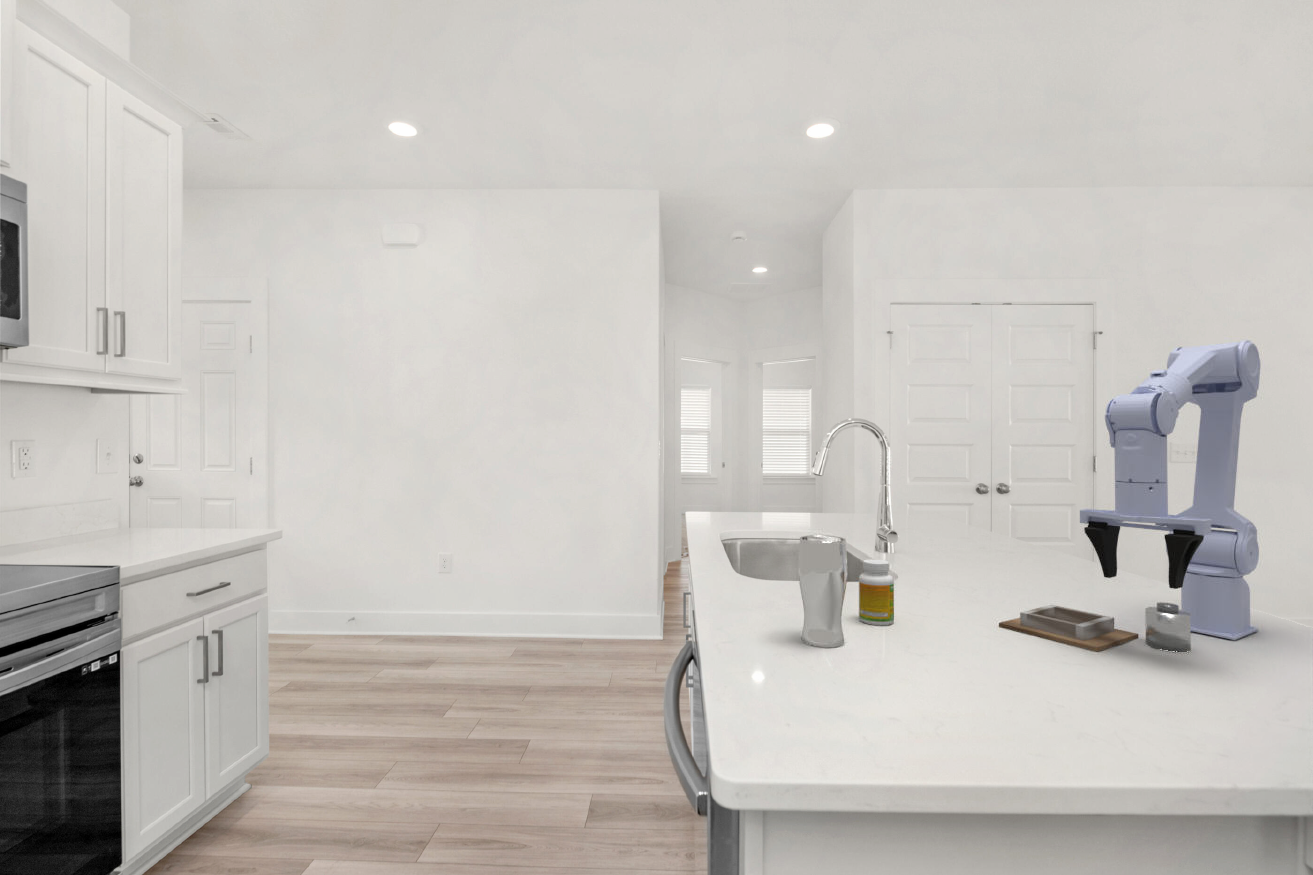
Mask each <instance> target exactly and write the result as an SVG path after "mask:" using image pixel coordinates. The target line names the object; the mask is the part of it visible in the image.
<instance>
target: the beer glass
mask: <svg viewBox="0 0 1313 875" xmlns="http://www.w3.org/2000/svg"><path fill="white" fill-rule="evenodd" d="M797 558H798V560H797V564H798V565H797V566H798V568H797V571H798V581H799V589H800V593H801V594H800V595H801V599H802V600H801V601H802V606H803V626H802V631H801V637H800V638H801V642H803V643H804V642H805V643H804V644H806V643H808V644H811V645H815V646H820V647H819V648H823V647H833V648H838V647H841V645H842V646H843V645H844V644H845V637H844V633H843V632H844V631H843V625H842V617H843V616H842V614H843V607H844V606H843V605H844V600H845V596H846V595H845V594H846V590H847V589H846V588H847V582H848V555H847V542H846V538H845V537H844V538H843V537H841V536H834V535H824V534H823V535H821V534H818V535H816V534H815V535H811V534H810V535H803V536H800V537H799V544H798V557H797ZM808 644H807V645H808ZM811 645H810V646H811ZM815 646H814V647H815Z"/></svg>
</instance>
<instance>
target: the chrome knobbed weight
mask: <svg viewBox="0 0 1313 875" xmlns="http://www.w3.org/2000/svg"><path fill="white" fill-rule="evenodd" d="M1144 610H1145V613H1144V614H1145V619H1144V620H1145V645H1146V646H1147V645H1148V646H1147V647H1149V646H1150V648H1152V649H1154V650H1155V649H1156V650H1158V649H1162V650H1161V651H1163V650H1168V651H1175V652H1174V653H1176V651H1177V652H1187V651H1190V650H1191V649H1192V648H1191V647H1192V638H1191V636H1192V631H1191V614H1190V613H1188V612H1185V611H1181V609H1179V605H1178V604H1176V603H1171V602H1162V601H1161V602H1157V603H1156V606H1148V607H1146V608H1145V609H1144ZM1168 651H1167V652H1168ZM1191 651H1192V650H1191ZM1191 651H1190V652H1191ZM1187 653H1188V652H1187Z"/></svg>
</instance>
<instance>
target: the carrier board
mask: <svg viewBox="0 0 1313 875" xmlns="http://www.w3.org/2000/svg"><path fill="white" fill-rule="evenodd" d="M1019 615H1020V616H1019V617H1017V618H1013V619H1008V620H1005V621H1001V622H998V627H999V628H1003V629H1006V630H1011V631H1013V632H1014V631H1015V632H1018V633H1021V634H1026V635H1029V636H1033V635H1034V637H1038V638H1040V639H1041V638H1042V639H1045V640H1050V641H1053V642H1057V643H1061V642H1063V643H1062V644H1065V643H1066V644H1065V645H1070V646H1074V647H1077V648H1080V649H1083V650H1084V649H1085V650H1089V651H1092V652H1101V651H1103V650H1107V649H1109V648H1110V649H1111V648H1113V647H1115V646H1118V645H1122V644H1125V643H1127V642H1130V641H1134V640H1136V639H1139V633H1136V632H1131V631H1126V630H1123V629H1122V630H1121V629H1118V628H1115V618H1114V617H1113V616H1112V617H1111V616H1106V615H1102V614H1097V613H1092V612H1088V611H1083V610H1078V609H1074V608H1070V607H1064V606H1061V605H1060V606H1059V605H1056V604H1049V605H1045V606H1040V607H1038V608H1037V607H1036V608H1033V609H1032V608H1031V609H1029V610H1026V611H1025V610H1024V611H1021V612H1019Z"/></svg>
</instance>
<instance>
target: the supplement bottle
mask: <svg viewBox="0 0 1313 875" xmlns="http://www.w3.org/2000/svg"><path fill="white" fill-rule="evenodd" d="M862 568H863V571H864V572H861V574H860V575H859V577H858V619H859V621H860V622H862V623H864V624H868V625H871V626H890V625H893V624H894V622H895V589H894V588H895V581H894V580H895V579H894V578H893V576H892V575H890V574H889V573H888V572H889V571H890V562H889V561H887V560H883V559H875V558H874V559H873V558H871V559H869V558H868V559H864V560H863V561H862Z"/></svg>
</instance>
